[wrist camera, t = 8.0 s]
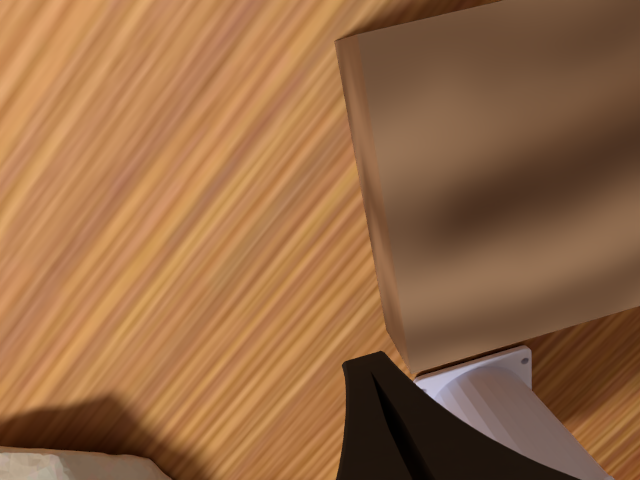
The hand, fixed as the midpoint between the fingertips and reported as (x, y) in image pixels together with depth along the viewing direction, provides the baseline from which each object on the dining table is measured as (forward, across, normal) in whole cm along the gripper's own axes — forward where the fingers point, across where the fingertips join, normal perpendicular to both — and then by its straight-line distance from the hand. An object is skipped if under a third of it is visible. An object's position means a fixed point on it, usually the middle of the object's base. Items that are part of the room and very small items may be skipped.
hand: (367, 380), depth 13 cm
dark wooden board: (+10, -10, -2) cm, 14 cm away
